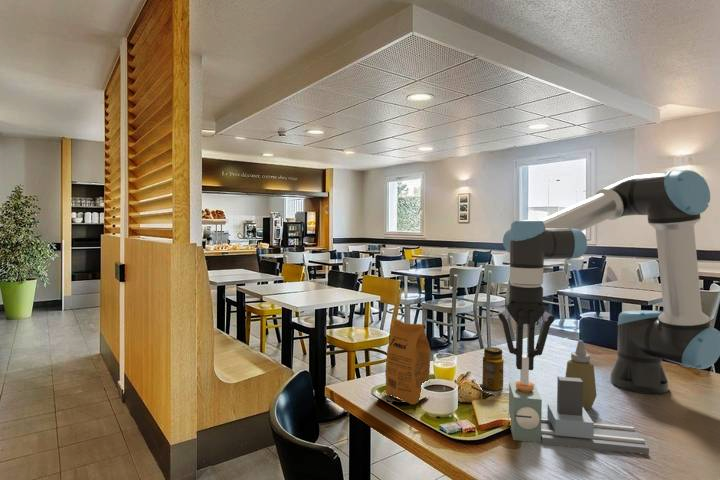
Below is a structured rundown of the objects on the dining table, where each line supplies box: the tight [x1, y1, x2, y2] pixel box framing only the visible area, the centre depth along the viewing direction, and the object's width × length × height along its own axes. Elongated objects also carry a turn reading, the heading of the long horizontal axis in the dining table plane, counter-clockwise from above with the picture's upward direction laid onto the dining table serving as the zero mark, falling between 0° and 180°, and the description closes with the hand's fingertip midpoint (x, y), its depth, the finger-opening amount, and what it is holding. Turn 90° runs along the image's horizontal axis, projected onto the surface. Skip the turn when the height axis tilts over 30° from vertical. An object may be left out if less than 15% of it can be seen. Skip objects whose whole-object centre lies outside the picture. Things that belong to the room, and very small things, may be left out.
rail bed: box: [541, 416, 650, 455], centre depth 103 cm, size 22×11×2 cm, turn 77°
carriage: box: [546, 376, 595, 439], centre depth 103 cm, size 8×9×12 cm
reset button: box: [515, 380, 535, 393], centre depth 106 cm, size 4×4×3 cm
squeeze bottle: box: [564, 340, 597, 411], centre depth 120 cm, size 8×8×18 cm
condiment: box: [478, 346, 509, 395], centre depth 133 cm, size 7×8×12 cm
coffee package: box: [385, 318, 431, 406], centre depth 127 cm, size 10×12×22 cm
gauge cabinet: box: [508, 381, 543, 444], centre depth 105 cm, size 6×10×10 cm, turn 167°
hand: (524, 382), depth 105 cm, fingers closed
